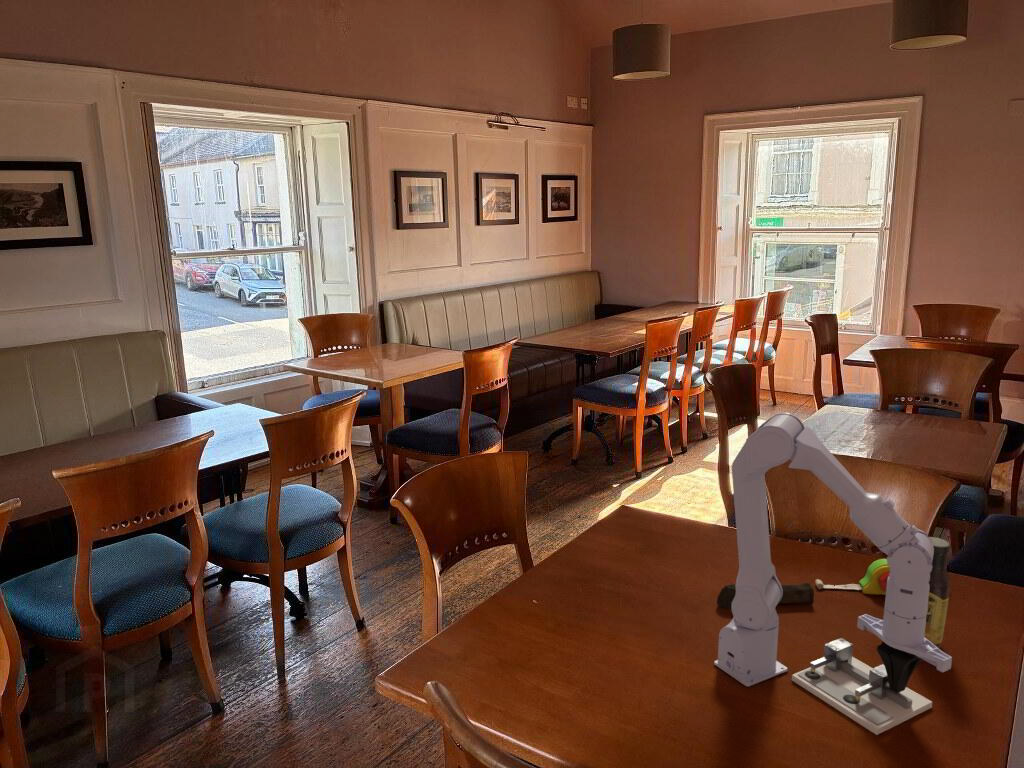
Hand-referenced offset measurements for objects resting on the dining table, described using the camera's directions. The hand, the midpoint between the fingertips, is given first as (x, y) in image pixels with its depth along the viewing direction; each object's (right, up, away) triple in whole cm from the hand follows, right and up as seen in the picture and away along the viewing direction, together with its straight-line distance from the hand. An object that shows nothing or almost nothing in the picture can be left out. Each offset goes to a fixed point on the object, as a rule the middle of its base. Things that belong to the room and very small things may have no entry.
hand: (897, 689), depth 121 cm
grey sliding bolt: (-3, -1, +1) cm, 4 cm away
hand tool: (-10, +3, +32) cm, 34 cm away
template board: (-4, -2, +4) cm, 6 cm away
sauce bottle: (+13, +1, +18) cm, 22 cm away
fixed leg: (-7, 0, +9) cm, 11 cm away
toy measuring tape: (+12, +5, +38) cm, 40 cm away
